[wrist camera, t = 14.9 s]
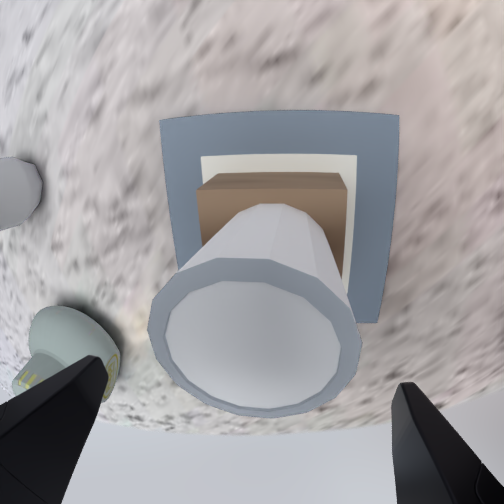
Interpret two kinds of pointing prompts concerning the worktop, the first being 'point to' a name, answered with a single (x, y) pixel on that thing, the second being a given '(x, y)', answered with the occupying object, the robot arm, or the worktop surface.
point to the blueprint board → (294, 160)
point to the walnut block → (276, 201)
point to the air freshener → (65, 347)
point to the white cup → (258, 318)
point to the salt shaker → (18, 191)
